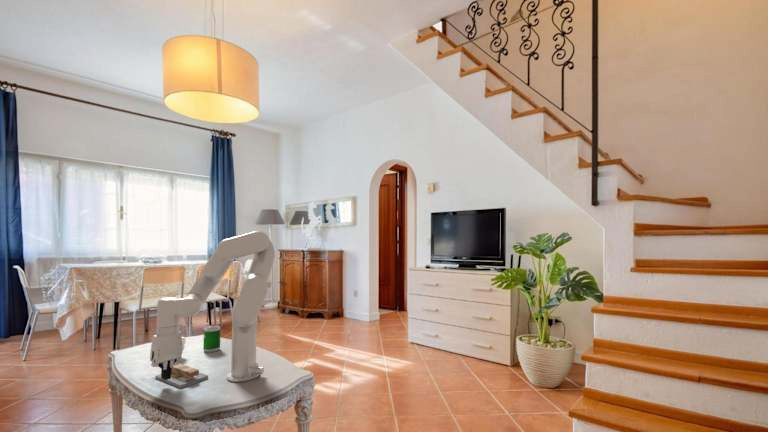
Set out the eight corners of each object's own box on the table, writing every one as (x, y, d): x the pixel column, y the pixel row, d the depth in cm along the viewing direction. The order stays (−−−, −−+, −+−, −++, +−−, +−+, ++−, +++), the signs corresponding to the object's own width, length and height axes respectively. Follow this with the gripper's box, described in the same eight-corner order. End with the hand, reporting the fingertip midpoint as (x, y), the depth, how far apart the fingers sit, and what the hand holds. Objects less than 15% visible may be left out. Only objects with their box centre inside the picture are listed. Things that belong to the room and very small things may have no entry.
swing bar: (198, 375, 140) (198, 369, 140) (189, 378, 137) (189, 372, 137) (175, 366, 148) (175, 361, 148) (166, 369, 145) (166, 364, 145)
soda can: (223, 348, 180) (223, 324, 180) (213, 353, 172) (214, 328, 173) (210, 347, 181) (210, 324, 182) (199, 352, 174) (200, 327, 174)
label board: (208, 378, 143) (208, 372, 143) (180, 388, 133) (180, 382, 133) (182, 369, 152) (182, 364, 152) (155, 378, 142) (155, 372, 142)
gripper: (181, 324, 144) (180, 370, 143) (141, 333, 131) (139, 383, 130) (192, 327, 140) (191, 374, 139) (152, 336, 128) (150, 388, 127)
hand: (166, 378), depth 135 cm, fingers closed
